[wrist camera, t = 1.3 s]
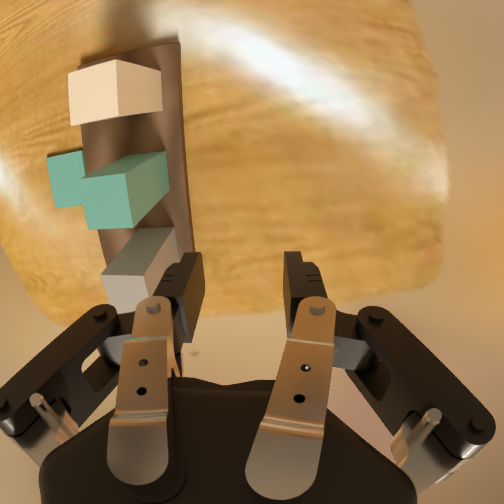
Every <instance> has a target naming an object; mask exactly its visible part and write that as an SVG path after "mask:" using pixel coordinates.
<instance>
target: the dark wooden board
mask: <svg viewBox="0 0 504 504" xmlns="http://www.w3.org/2000/svg"><path fill="white" fill-rule="evenodd" d="M116 59H117V60H121V61H125V62H129V63H133V64H137V65H141V66H144V67H148V68H151V69H155V70H158V71H161V82H162V103H163V111H157V112H150V113H143V114H137V115H131V116H125V117H118V118H112V119H106V120H100V121H95V122H89V123H84V124H81V133H82V142H83V150H84V158H85V165H86V171H87V175H88V174H90V173H92V172H94V171H96V170H98V169H100V168H102V167H104V166H106V165H108V164H110V163H112V162H115V161H117V160H119V159H121V158H123V157H126V156H128V155H133V154H141V153H150V152H160V151H166V157H167V168H168V177H169V187H170V191H169V192H167V193H166V194H165V195H164V197H163V198H162V199H161V200H160V201H159V202H158V203H157V204H156V205H155V206H154V207H153V208H152V209H151V210H150V211H149V212H148V213H147V214H146V215H145V216H144V217H143V218H142V219H141V220H140V221H139V222H138V223H137V225H136V226H135V227H134V228H116V229H98V234H99V238H100V242H101V246H102V250H103V254H104V258H105V262H106V265H107V266H108V265H109V264H110V263H111V261H112V260H113V259H114V258H115V256H116V255H117V254H118V253H119V252H120V250H121V249H122V248H123V247H124V246H125V245H126V243H127V242H128V241H129V240H130V239H131V238H132V236H133V235H134V234H135V233H136V232H137V231H138V230H139V228H161V227H175V235H176V242H177V249H178V255H179V262H180V260H181V258H182V256H183V254H184V253H185V252H195V244H194V236H193V227H192V218H191V208H190V198H189V187H188V176H187V165H186V152H185V138H184V122H183V105H182V83H181V49H180V44H179V43H171V44H165V45H159V46H154V47H149V48H144V49H139V50H135V51H130V52H126V53H122V54H118V55H114V56H110V57H106V58H103V59H99V60H96V61H93V62H89V63H86V64H83V65H80V66H78V70H81V69H84V68H87V67H90V66H94V65H97V64H101V63H104V62H108V61H112V60H116Z"/></svg>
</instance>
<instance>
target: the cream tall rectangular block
mask: <svg viewBox="0 0 504 504" xmlns="http://www.w3.org/2000/svg"><path fill="white" fill-rule="evenodd" d="M68 87H69V105H70V118H71V126H74V125H79V124H84V123H89V122H95V121H100V120H106V119H112V118H118V117H125V116H131V115H137V114H143V113H150V112H157V111H163V103H162V82H161V71H158V70H155V69H151V68H148V67H144V66H141V65H137V64H133V63H129V62H125V61H121V60H117V59H116V60H112V61H108V62H104V63H101V64H97V65H94V66H90V67H87V68H84V69H81V70H78V71H75V72H72V73H69V74H68Z"/></svg>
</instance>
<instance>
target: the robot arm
mask: <svg viewBox="0 0 504 504" xmlns="http://www.w3.org/2000/svg"><path fill="white" fill-rule="evenodd" d="M204 294H205V278H204V270H203V261H202V255H201V252H185V253H184V254H183V256H182V258H181V260H180V262H179V263H173V264H171V265H170V266H169V267H168V268H166V270H165V272H164V274H163V276H162V278H161V280H160V282H159V284H158V286H157V288H156V289H155V291H154V293H153V295H152V296H151V297H148V298H145V299H143V300H142V301H140V302H139V303H138V304H137V306H136V310H135V311H133V312H128V313H122V314H118V313H117V310H116V308H115V307H114V306H112V305H110V304H101V305H97V306H95V307H93V308H91V309H90V310H89V311H87V312H86V313H85V314H84V315H83V316H81V317H80V318H79V319H78V320H77V321H75V322H74V323H73V324H72V325H71V326H69V327H68V328H67V329H66V330H65V331H64V332H62V333H61V334H60V335H59V336H58V337H57V338H55V339H54V340H53V341H52V342H51V343H50V344H49V345H47V346H46V347H45V348H44V349H43V350H42V351H41V352H40V353H38V354H37V355H36V356H35V357H34V358H33V359H32V360H31V361H29V363H27V364H26V365H25V366H24V367H23V368H22V369H21V370H20V371H18V372H17V373H16V374H15V375H14V376H13V377H12V378H11V379H10V380H9V381H8V382H7V383H6V384H5V385H4V386H2V387H1V388H0V428H1V429H2V431H3V433H4V434H5V435H6V436H7V437H9V439H10V440H12V442H13V443H15V444H16V445H17V446H18V447H19V448H20V449H21V450H22V451H24V452H26V453H27V454H28V455H29V457H30V458H31V459H32V460H33V461H34V462H35V463H36V464H37V465H38V466H39V467H40V472H39V488H40V494H41V504H417V495H419V494H420V493H422V492H423V491H424V490H426V489H427V488H429V487H430V486H431V485H433V484H434V483H438V482H442V481H444V480H446V479H447V478H448V477H449V476H451V475H452V474H453V473H454V472H456V471H457V470H458V469H459V468H461V467H462V466H463V465H464V464H465V463H466V462H467V461H469V460H470V459H471V458H472V457H473V456H474V455H475V454H476V453H478V451H480V449H482V448H483V447H484V446H485V445H486V444H487V443H488V442H489V441H490V440H491V439H492V438H493V436H494V434H495V429H496V424H495V420H494V418H493V416H492V415H491V413H490V412H489V411H488V410H487V409H486V408H485V407H484V406H483V405H482V404H481V402H480V401H479V400H478V399H477V398H476V397H475V396H474V395H473V394H472V393H471V392H470V391H469V390H468V389H467V388H466V387H465V386H464V385H463V384H462V383H461V381H460V380H459V379H458V378H457V377H455V375H454V374H453V373H452V372H451V371H450V370H449V369H448V368H447V367H446V366H445V365H444V364H443V363H442V362H441V361H440V360H439V359H438V358H437V357H436V356H435V355H434V354H433V353H432V352H431V351H430V350H429V349H428V348H427V347H426V346H425V345H424V344H423V343H422V342H421V341H419V339H417V338H416V337H415V336H414V335H413V334H412V333H411V332H410V331H409V330H408V329H407V328H406V327H405V326H404V325H403V324H402V323H401V322H400V321H399V320H398V319H397V318H396V317H394V316H393V315H392V314H391V313H390V312H389V311H388V310H386V309H384V308H381V307H378V306H367V307H364V308H362V309H361V310H360V311H359V312H358V315H352V314H346V313H343V312H340V311H338V310H336V306H335V304H334V303H333V302H332V301H331V300H329V299H328V297H327V294H326V290H325V287H324V284H323V281H322V277H321V274H320V271H319V268H318V267H317V266H316V265H315V264H314V263H313V262H303V260H302V255H301V252H300V251H290V252H284V271H283V296H284V306H285V317H286V328H287V342H286V345H285V349H284V353H283V356H282V360H281V364H280V367H279V370H278V374H277V377H276V380H255V381H249V382H244V383H238V384H232V385H218V384H215V383H211V382H207V381H204V380H200V379H196V378H188V377H184V369H183V354H182V350H181V348H182V345H183V343H191V342H192V339H193V335H194V331H195V328H196V324H197V320H198V316H199V313H200V309H201V305H202V302H203V298H204ZM95 349H98V351H99V353H100V356H99V357H98V358H97V359H96V360H95V361H94V363H92V364H91V366H89V367H88V368H87V369H86V370H85V371H84V372H83V373H82V370H81V367H82V363H83V362H84V360H85V359H86V358H87V357H88V356H89V355H90V354H91V353H92V352H93V351H94V350H95ZM332 366H333V367H338V368H343V369H345V371H346V373H347V375H348V376H349V377H350V379H351V380H352V381H353V383H354V384H355V385H356V387H357V388H358V390H359V391H360V392H361V393H362V395H363V396H364V398H365V399H366V400H367V402H368V403H369V404H370V406H371V407H372V408H373V410H374V411H375V412H376V414H377V415H378V417H380V419H381V421H382V422H383V423H384V425H385V426H386V427H387V429H388V430H389V431H390V433H391V434H392V435H393V439H392V441H391V452H392V454H393V456H394V459H395V463H396V465H395V464H394V463H393V462H391V461H390V460H389V459H388V458H386V457H385V456H384V455H382V454H381V453H380V452H379V451H377V450H376V449H375V448H374V447H373V446H371V445H370V444H369V443H367V442H366V441H365V440H364V439H363V438H361V437H360V436H359V435H358V434H357V433H356V432H354V431H353V430H352V429H351V428H350V427H348V426H347V425H346V424H345V423H344V422H343V421H341V420H340V419H339V418H338V417H337V416H336V415H334V414H333V413H332V412H331V411H330V410H329V409H328V408H327V403H328V396H329V389H330V388H329V387H330V381H331V372H332ZM117 385H118V388H117V397H116V407H115V408H114V409H113V410H111V411H110V412H109V413H107V414H106V415H104V416H103V417H102V418H100V419H98V420H97V421H95V422H94V423H93V424H91V425H90V426H88V427H87V428H85V429H84V430H82V431H81V432H79V433H78V429H79V427H80V426H81V425H82V424H83V423H84V422H85V421H86V420H87V418H88V417H89V416H90V415H91V414H92V413H93V412H94V411H95V409H96V408H97V407H98V406H99V405H100V404H101V403H102V402H103V401H104V399H105V398H106V397H107V396H108V395H109V394H110V393H111V391H112V390H113V389H114V388H115V387H116V386H117Z"/></svg>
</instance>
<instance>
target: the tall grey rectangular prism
mask: <svg viewBox="0 0 504 504" xmlns="http://www.w3.org/2000/svg"><path fill="white" fill-rule="evenodd" d="M173 263H179V255H178V249H177V242H176V235H175V227H161V228H139V230H138V231H137V232H136V233H135V234H134V235H133V236H132V238H131V239H130V240H129V241H128V242H127V243H126V245H125V246H124V247H123V248H122V249H121V250H120V252H119V253H118V254H117V255H116V256H115V258H114V259H113V260H112V261H111V263H110V264H109V265H108V266H107V267H106V269H105V270H104V271H103V272H102V274H101V278H102V282H103V285H104V288H105V291H106V294H107V298H108V301H109V304H110V305H112V306H114V307H115V308H116V310H117V313H118V314H122V313H128V312H133V311H135V310H136V306H137V304H138V303H139V302H140V301H142V300H143V299H145V298H148V297H151V296H152V295H153V293H154V291H155V289H156V288H157V286H158V284H159V282H160V280H161V278H162V276H163V274H164V272H165V270H166V268H168V267H169V266H170V265H171V264H173Z"/></svg>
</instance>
